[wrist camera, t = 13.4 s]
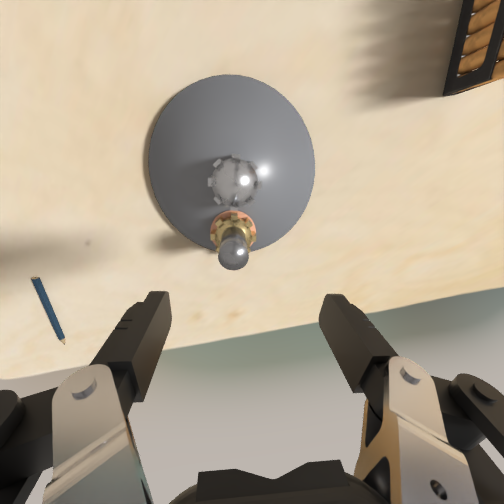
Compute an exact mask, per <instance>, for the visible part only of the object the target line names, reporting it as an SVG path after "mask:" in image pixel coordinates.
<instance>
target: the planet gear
mask: <svg viewBox="0 0 504 504" xmlns="http://www.w3.org/2000/svg"><path fill="white" fill-rule="evenodd" d="M215 225H216V226H217V229H216V230H212V231H211V234H210V237H211V240H215V242H216V244H217V245H216V249H215V250H216V251H217V252H218V253H219V255H218V259H219V262H220V264H221V265H222V266H223V267H224V268H226V269H229V270H238V269H241V268H243V267H244V266H245V265H246V264H247V262H248V258H249V255H248V253H249V252H250V251H251V248H250V244H251V242H256V232H255V231H251V229H250V228H251V227H252V226H253V224H252V221H251V220H250V219H249V218H248V217H247V218H246V219H245V220H244V219H242V218H240V217H238V213H237V212H231V216H230V217H227V218H224V219H223V218H222V217H221V216H220V217H219V218H218V219H217V220H216V222H215Z"/></svg>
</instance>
